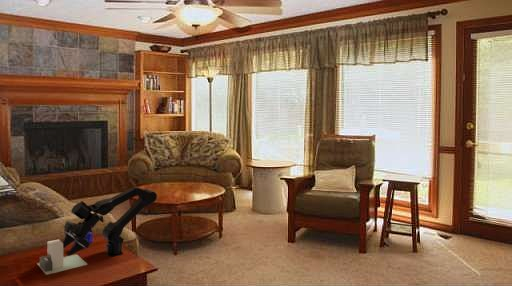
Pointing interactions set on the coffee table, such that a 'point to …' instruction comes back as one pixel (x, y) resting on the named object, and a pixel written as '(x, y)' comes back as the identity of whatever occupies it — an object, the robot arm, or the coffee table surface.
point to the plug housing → (55, 253)
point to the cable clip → (88, 237)
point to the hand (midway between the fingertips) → (64, 252)
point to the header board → (69, 263)
